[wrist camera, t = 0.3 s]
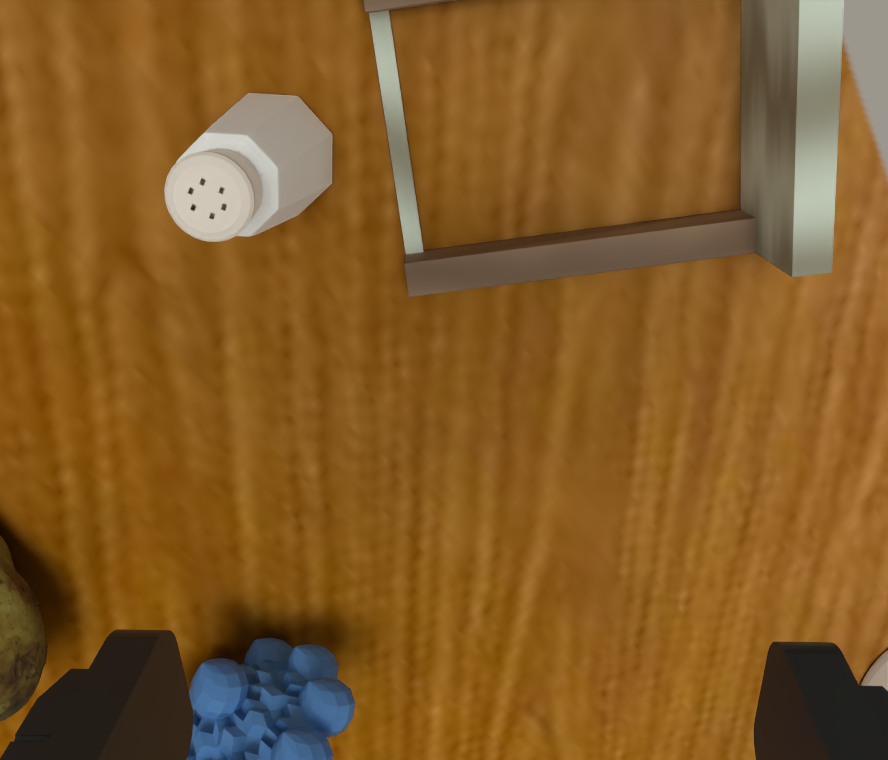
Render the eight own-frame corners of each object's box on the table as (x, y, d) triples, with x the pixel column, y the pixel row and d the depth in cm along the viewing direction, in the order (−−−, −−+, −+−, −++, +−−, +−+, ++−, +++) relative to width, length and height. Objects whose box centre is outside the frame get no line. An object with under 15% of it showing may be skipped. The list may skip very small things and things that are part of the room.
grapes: (330, 550, 44) (291, 724, 32) (384, 645, 46) (364, 838, 35) (138, 620, 45) (39, 808, 34) (199, 709, 48) (125, 911, 36)
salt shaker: (357, 124, 35) (321, 157, 25) (308, 237, 37) (257, 311, 27) (238, 65, 35) (151, 74, 24) (194, 184, 36) (96, 239, 26)
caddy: (363, -27, 33) (346, -41, 28) (780, -89, 32) (849, -116, 27) (410, 284, 38) (405, 326, 32) (774, 238, 37) (831, 272, 32)
